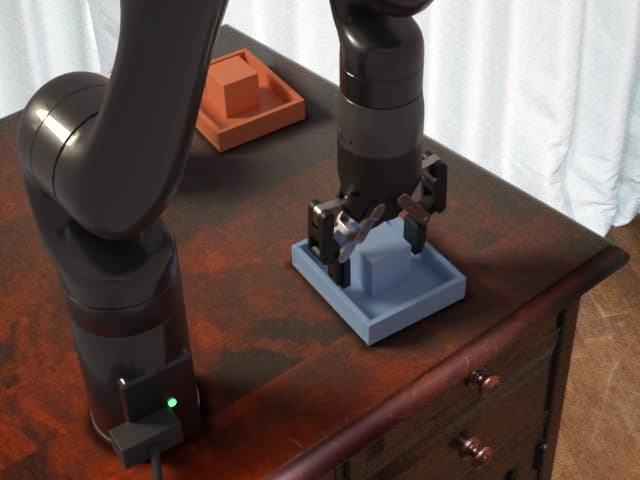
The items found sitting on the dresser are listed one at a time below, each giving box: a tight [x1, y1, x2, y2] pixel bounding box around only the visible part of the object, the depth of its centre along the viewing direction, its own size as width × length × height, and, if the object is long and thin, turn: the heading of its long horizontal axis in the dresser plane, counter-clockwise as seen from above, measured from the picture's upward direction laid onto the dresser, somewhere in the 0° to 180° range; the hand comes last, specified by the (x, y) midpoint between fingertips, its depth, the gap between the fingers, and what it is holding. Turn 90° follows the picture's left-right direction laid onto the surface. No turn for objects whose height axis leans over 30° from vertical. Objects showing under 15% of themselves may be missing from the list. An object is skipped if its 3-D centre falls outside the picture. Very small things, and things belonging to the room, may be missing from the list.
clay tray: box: [195, 47, 306, 153], centre depth 133 cm, size 13×11×3 cm
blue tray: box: [291, 215, 467, 347], centre depth 111 cm, size 13×11×3 cm
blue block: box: [349, 221, 411, 298], centre depth 110 cm, size 4×4×4 cm
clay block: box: [206, 56, 260, 118], centre depth 132 cm, size 4×4×4 cm
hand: (377, 265), depth 110 cm, fingers open, 8 cm apart
